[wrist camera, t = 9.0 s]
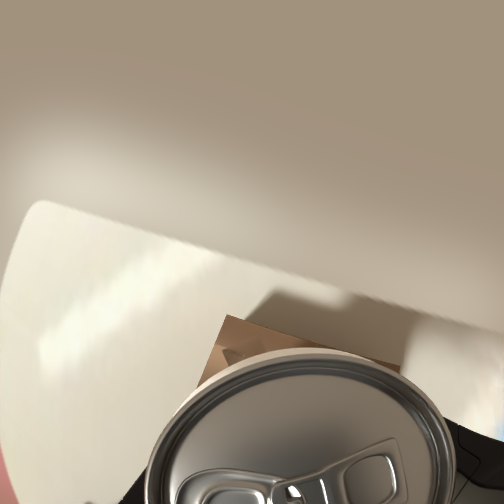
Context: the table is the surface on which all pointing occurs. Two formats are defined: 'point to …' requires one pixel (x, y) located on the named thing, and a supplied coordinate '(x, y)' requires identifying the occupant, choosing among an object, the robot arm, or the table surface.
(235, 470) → the can
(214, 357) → the socket block
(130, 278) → the table surface
